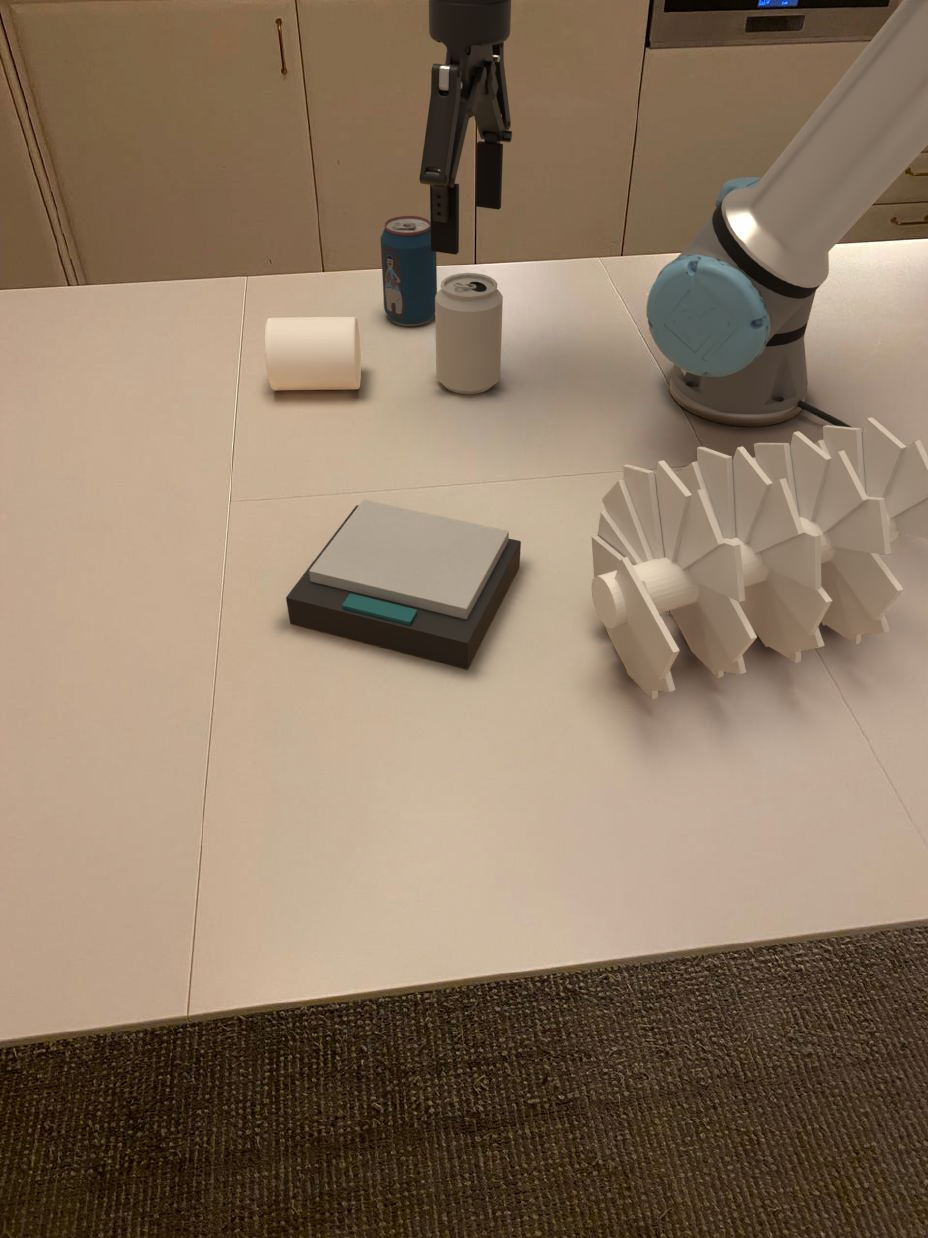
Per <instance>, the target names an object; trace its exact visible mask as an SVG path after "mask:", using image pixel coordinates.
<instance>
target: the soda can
mask: <svg viewBox="0 0 928 1238" xmlns="http://www.w3.org/2000/svg"><path fill="white" fill-rule="evenodd" d="M380 256H381V275H382V277H381V278H382V294H383V295H382V296H383V309H384V312H385V314H386V315H387V316H388V318H389V320H390V322H392V323H394V324H396V325H397V326H402V327H419V326H423V325H425V324H428V323H430V322H431V321H432V319H433V318H434V317H435V297H436V294H437V293H438V270H437V266H438V265H437V264H438V263H437V252H435V251H431V222H430V220H429V219H427V218H425V217H422V216H418V215H400V216H394V217H391V218H389V219H388V220H386V221H385V223H384V229H383V231H382V233H381V235H380Z"/></svg>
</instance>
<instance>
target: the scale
mask: <svg viewBox="0 0 928 1238" xmlns="http://www.w3.org/2000/svg"><path fill="white" fill-rule="evenodd" d="M509 533H510V531H509V530H506V529H502V528H497V527H493V526H487V525H484V524H478V523H474V522H469V521H466V520H465V521H464V520H460V519H455V518H450V517H447V516H446V517H445V516H441V515H437V514H431V513H427V512H423V511H419V510H418V511H417V510H414V509H410V508H409V509H408V508H404V507H399V506H395V505H390V504H387V503H386V504H385V503H381V502H376V501H372V500H367V499H362V501H360V503H359V504H357V505H355V507H354V508H353V509H352V510H351V512H350V513H349V514H348V515H347V517H346V518H345V519H344V521H343V522H342V523H341V525H340V526H339V527H338V528H337V530H336V531H335V533H334V534H333V535H332V537H331V538H329V541H327V543H326V544H325V545H324V547H323V548H322V549H321V551H320V552H319V554H318V555H317V556H316V557H315V559H314V560H313V561H312V562H311V564H310V565H309V567H307V569H306V570H305V572H304V573H303V574H302V576H300V578H299V580H298V581H297V582H296V583H295V585H294V586H293V588H292V589H290V592H289V593H288V594H287V595H286V597H285V601H286V606H287V614H288V619H289V624H290V625H293V626H297V627H300V628H304V629H309V630H313V631H316V632H320V633H323V634H328V635H332V636H336V637H340V638H343V639H346V640H351V641H355V642H359V643H362V644H366V645H371V646H373V647H378V648H381V649H382V648H383V649H386V650H390V651H392V652H393V651H394V652H398V653H400V654H401V653H402V654H405V655H409V656H414V657H417V658H421V659H424V660H429V661H434V662H436V663H440V664H444V665H448V666H452V667H456V668H459V669H463V670H469V668H470V666H471V664H472V662H473V660H474V659H475V656H476V654H477V652H478V651H479V648H480V646H481V644H482V643H483V641H484V639H485V637H486V635H487V632H488V631H489V628H490V627H491V624H492V622H493V621H494V618H495V617H496V615H497V612H498V611H499V609H500V607H501V605H502V603H503V601H504V599H505V597H506V595H507V593H508V591H509V589H510V587H511V585H512V583H513V581H514V579H515V577H516V575H517V573H518V571H519V569H520V566H521V548H522V547H521V546H522V541H521V540H519V539H518V540H517V539H514V538H510V537H509V536H510V534H509Z"/></svg>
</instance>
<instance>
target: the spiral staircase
mask: <svg viewBox="0 0 928 1238" xmlns="http://www.w3.org/2000/svg"><path fill="white" fill-rule="evenodd" d="M851 427H852V426H851ZM851 427H841V426H835V425H832V424H831V425H829V424H825V425H823V426H822V437H823V439H819V440H817V441H816V442H815V443H814V442H813V441H811V440H810V439H809V438H808V437H807V436H806V435H805V434H803V433H802V432H800V431H799V430H798V431H793V433H792V436H791V437H792V438H791V442H790V443H789V442H757V443H753V450H754V457H752V456H751V454H750V453H749V452H748V451H747V449H746V448H745V447H744V446H743V445H742V446H738V447H736V450H735V453H734V456H731V455H728V454H725V453H724V452H720V451H716V450H714V449H711V448H708V447H705V446H698V447H696V454H697V455H696V456H697V458H696V459H697V460H696V461H693V462H690V463H689V464H688V465H687V466H684V468H682V469H681V470H679V471H678V472H676V473H675V471H673V469H672V468H671V466H669V465H668V463H667V462H666V461H665V460H664V459H662V460H659V461H657V464H656V469H655V471H653V470H650V469H646V468H642V467H639V466H635V465H631V464H624V465H622V470H623V471H622V472H623V479H620V480H617V482H616V483H615V484H614V485H613V486H612V487H610V489H609V491H608V492H607V493H606V494H605V495H604V496H603V497H602V498H601V500H602V503H603V506H604V509H605V510H603V511H600V515H599V520H598V521H599V522H598V529H597V534H595V535H591V551H592V565H593V566H592V567H593V568H592V569H593V578H592V580H591V589H590V590H591V597H592V602H593V605H594V606H593V607H594V609H595V611H596V613H597V616H598V619H600V621H601V622H602V624H603V625H604V626H605V630H606V633H607V635H608V637H609V639H610V641H611V643H612V644H613V646H614V649H615V650H616V652H617V654H618V656H619V658H620V660H621V662H622V664H623V666H624V667H625V669H626V674H627V675H628V676H629V677H630V678H631V679H632V680H633V681H634V683H636V684H637V685H638V686H639V687H640V688H641V690H642V691H643V692H644V693H646V695H648V697H649V698H650V699H651V700H654V699H657V698H659V692H665V693H670V692H671V693H672V692H674V691H676V686H675V684H674V679H673V676H672V672H671V668H672V666H673V664H674V662H675V660H676V658H677V657H678V655H679V653H680V648H679V646H678V644H677V643H676V641H675V640H674V638H673V636H672V634H671V632H670V630H669V628H668V627H667V625H666V623H665V621H664V619H663V618H662V616H661V614H662V613H666V612H669V611H670V613H671V614H672V617H673V618H674V620H675V622H676V624H677V626H678V628H679V630H680V632H681V634H682V636H683V638H684V640H685V641H686V643H687V645H688V648H689V650H690V652H691V653H692V654H693V655H695V657H696V658H698V660H699V661H700V662H701V663H702V664H704V666H705V667H706V668H707V669H708V670H709V671H710V672H711V673H712V674H713V675H714V676H715V677H716V678H717V679H721V678H723V677H724V676H725V673H731V674H735V675H736V674H737V675H744V674H746V673H747V669H746V668H747V667H746V665H745V661H744V656H743V655H744V654H745V652H747V650H748V649H749V648H750V646H752V644H753V643H754V641H756V640H757V638H759V639H760V641H761V643H762V644H763V645H764V647H765V648H768V647H769V648H770V649H772V650H774V651H776V652H777V653H779V654H780V655H782V656H783V657H785V658H786V659H789V660H790V661H791V662H793V663H794V664H798V663H801V662H802V651H807V650H813V649H818V648H821V647H825V642H824V639H823V637H822V634H821V631H820V627H819V626H820V625H822V626H823V627H824V626H827V627H829V628H830V629H832V630H834V631H835V632H836V633H838V634H839V635H840V636H842V637H844V638H845V639H847V640H848V641H849V642H851V643H853V644H854V645H858V644H861V643H862V636H863V635H869V634H870V635H871V634H883V633H884V634H885V633H888V632H890V631H891V630H890V627H889V626H890V625H889V623H888V620H887V616H886V613H887V612H888V610H889V609H890V608H891V607H892V606H893V604H894V603H895V601H896V600H897V599H898V598H899V597H900V596H901V594H902V593H903V591H905V589H904V587H902V585H901V584H900V582H899V581H898V580H897V578H896V577H895V576H894V574H893V573H892V572H891V570H890V569H889V567H888V566H887V565H886V564H885V562H884V561H883V559H882V558H881V556H880V555H883V556H888V555H890V554H892V549H891V543H892V542H894V541H895V540H897V538H898V537H899V534H900V533H901V534H906V535H910V536H914V537H918V538H921V539H922V538H923V539H927V540H928V453H927V452H926V449H925V448H924V446H923V443H922V441H921V439H919V440H914V441H913V442H911V443H910V444H908V445H907V446H906V445H905V444H904V443H903V442H902V441H900V440H899V439H898V438H897V437H896V436H894V434H893V433H891V432H890V431H889V430H888V429H887V428H886V427H884V426H883V425H882V424H881V423H880V422H878V421H877V420H876V419H875V418H874V417H867V418H866V420H865V423H864V426H863V429H862V428H861V427H853V428H851Z"/></svg>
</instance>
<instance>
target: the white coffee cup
mask: <svg viewBox="0 0 928 1238" xmlns="http://www.w3.org/2000/svg"><path fill="white" fill-rule="evenodd" d="M265 322H266V323H265V326H264V336H263V337H264V340H263V341H264V344H263V346H264V360H265V361H264V362H265V369H266V376H267V381H268V384H269V386H270V388H271V390H273V391H326V390H327V391H332V390H333V391H334V390H335V391H336V390H337V391H338V390H339V391H341V390H359V389H360V387H361V380H362V359H361V355H362V354H361V338H360V327H359V322H358V318H357V317H356V316H312V317H311V316H308V317H307V316H303V317H302V316H300V317H299V316H298V317H297V316H296V317H295V316H292V317H291V316H290V317H268V318H267V319H266V321H265Z"/></svg>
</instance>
